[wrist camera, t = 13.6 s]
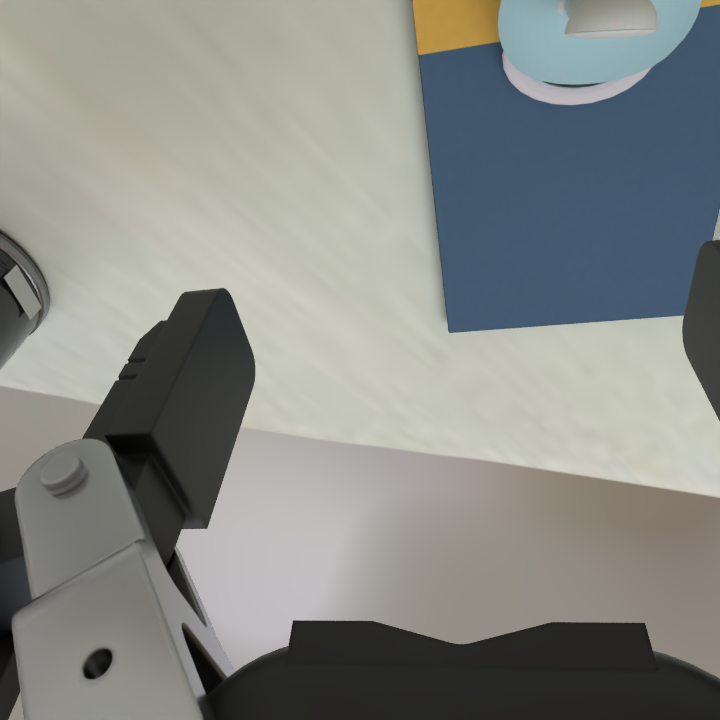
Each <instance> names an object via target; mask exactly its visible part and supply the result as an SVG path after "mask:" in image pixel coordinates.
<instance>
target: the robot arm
mask: <svg viewBox="0 0 720 720" xmlns="http://www.w3.org/2000/svg"><path fill="white" fill-rule="evenodd" d="M48 309H49V294H48V290H47V287H46V284H45V282H44V279H43V277H42V275H41V274H40V272H39V270H38V269H37V267H36V266H35V265H34V263H33V262H32V261H31V259H30V258H29V257H28V256H27V255H26V254H25V253H24V252H23V251H22V250H21V249H20V248H19V247H18V246H17V245H16V244H14V243H13V242H12V241H11V240H10V239H8V238H7V237H6V236H4V235H3V234H1V233H0V370H1V369H2V367H3V366H4V365H5V364H6V362H7V361H8V360H9V359H10V358H11V357H12V355H13V354H14V353H15V352H16V351H17V349H18V348H19V347H20V346H21V344H22V343H23V342H24V341H25V340H26V338H27V337H28V336H29V335H31V334H32V333H33V332H34V331H35V330H36V329H37V328H38V326H39V325H40V324H41V323H42V322H43V320H44V319H45V317H46V315H47V313H48ZM682 333H683V343H684V348H685V352H686V355H687V357H688V359H689V361H690V363H691V365H692V367H693V369H694V371H695V373H696V375H697V377H698V379H699V381H700V383H701V385H702V387H703V389H704V391H705V393H706V395H707V397H708V399H709V401H710V403H711V405H712V407H713V409H714V411H715V413H716V415H717V417H718V419H719V421H720V240H715V241H707V242H705V243H704V244H703V245H702V246H701V248H700V250H699V253H698V256H697V261H696V265H695V269H694V274H693V278H692V283H691V287H690V292H689V296H688V301H687V305H686V310H685V314H684V319H683V329H682ZM128 361H129V363H128V364H125V366H124V368H123V369H122V371H121V373H120V374H119V376H118V377H119V380H118V381H115V383H114V385H113V386H112V388H111V390H110V392H109V393H108V395H107V397H106V398H105V400H104V402H103V403H102V405H101V407H100V409H99V411H98V412H97V414H96V416H95V417H94V419H93V421H92V422H91V424H90V426H89V428H88V429H87V431H86V433H85V434H84V436H83V438H82V439H79V440H74V441H71V442H68V443H65V444H62V445H60V446H58V447H56V448H54V449H52V450H50V451H49V452H47V453H46V454H44V455H43V456H42V457H40V458H39V459H38V460H37V461H35V462H34V463H33V464H32V465H31V466H30V467H29V468H28V469H27V471H26V472H25V473H24V475H23V476H22V478H21V479H20V481H19V483H18V485H17V487H15V488H12V489H9V490H6V491H2V492H0V720H8V719H9V716H10V714H11V712H12V709H13V707H14V705H15V702H16V700H17V698H18V695H19V693H20V692H21V699H22V706H23V714H24V720H720V679H719V678H718V677H716V676H714V675H712V674H710V673H708V672H706V671H704V670H702V669H700V668H698V667H696V666H694V665H692V664H690V663H687V662H685V661H682V660H679V659H677V658H674V657H672V656H669V655H666V654H663V653H659V652H656V651H653V650H652V647H651V643H650V640H649V636H648V632H647V629H646V625H645V623H570V622H568V623H565V622H562V623H561V622H551V623H547V624H543V625H540V626H536V627H532V628H528V629H524V630H520V631H516V632H512V633H509V634H505V635H501V636H497V637H493V638H489V639H485V640H481V641H478V642H474V643H470V644H453V643H449V642H445V641H442V640H438V639H435V638H431V637H427V636H424V635H420V634H417V633H413V632H410V631H406V630H403V629H399V628H395V627H392V626H388V625H385V624H381V623H378V622H374V621H293V624H292V630H291V636H290V642H289V646H287V647H284V648H280V649H278V650H275V651H273V652H270V653H268V654H265V655H263V656H261V657H259V658H257V659H255V660H254V661H252V662H250V663H248V664H247V665H245V666H243V667H242V668H240V669H239V670H237V671H235V669H234V667H233V665H232V664H231V662H230V660H229V658H228V657H227V655H226V653H225V651H224V650H223V648H222V646H221V644H220V642H219V640H218V638H217V636H216V633H215V631H214V629H213V627H212V624H211V622H210V620H209V617H208V615H207V613H206V611H205V608H204V606H203V604H202V601H201V599H200V597H199V595H198V592H197V590H196V588H195V585H194V583H193V581H192V578H191V576H190V574H189V571H188V569H187V567H186V565H185V562H184V560H183V558H182V555H181V553H180V552H179V550H178V549H177V547H176V543H177V540H178V537H179V535H180V532H181V529H207V527H208V524H209V521H210V518H211V515H212V512H213V509H214V506H215V503H216V500H217V497H218V493H219V490H220V487H221V484H222V481H223V478H224V475H225V472H226V469H227V466H228V462H229V459H230V457H231V453H232V450H233V447H234V444H235V441H236V438H237V435H238V432H239V429H240V426H241V423H242V420H243V416H244V413H245V410H246V407H247V404H248V401H249V398H250V395H251V392H252V389H253V386H254V381H255V361H254V356H253V352H252V349H251V347H250V344H249V341H248V339H247V336H246V333H245V331H244V328H243V325H242V323H241V320H240V317H239V315H238V312H237V309H236V307H235V304H234V302H233V299H232V297H231V295H230V293H229V292H228V291H227V290H226V289H224V288H220V289H210V290H200V291H190V292H184V293H183V294H182V295H181V296H180V298H179V300H178V301H177V303H176V305H175V307H174V309H173V311H172V312H171V314H170V316H169V318H168V320H166V321H160V322H159V323H158V324H157V325H155V326H154V327H153V328H152V329H151V330H150V331H149V332H148V333H147V334H145V335H144V336H143V337H142V338H141V339H140V340H139V342H138V344H137V345H136V347H135V349H134V350H133V352H132V354H131V356H130V357H129V359H128Z"/></svg>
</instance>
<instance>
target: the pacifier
mask: <svg viewBox="0 0 720 720" xmlns="http://www.w3.org/2000/svg"><path fill="white" fill-rule="evenodd" d="M701 1H702V0H501V3H500V7H499V13H498V31H499V38H500V41H501V45H502V48H503V50H504V51H503V54H502V59H503V69H504V71H505V73H506V75H507V77H508V79H509V81H510V82H511V83H512V84H513V85H514V86H515V87H516V88H517V89H518V90H519V91H520V92H522V93H524V94H526V95H527V96H529V97H531V98H533V99H535V100H539V101H543V102H547V103H550V104H560V105H578V104H587V103H593V102H597V101H600V100H604V99H607V98H611V97H613V96H615V95H617V94H619V93H621V92H623V91H625V90H627V89H629V88H630V87H631V86H633V85H634V84H635V83H637V82H638V81H639V80H641V79H642V78H643V77H644V76H645V75H646V74H647V73H648V71H649V70H650V69H651V68H652V67H653V66H654V65H656V64H657V63H659V62H660V61H662V60H663V59H665V58H666V57H667V56H668V55H669V54H670V53H671V52H672V51H673V50H674V49H675V48H676V47H677V46H678V45H679V44H680V43H681V41H682V40H683V39H684V38H685V36H686V35H687V34H688V32H689V31H690V29H691V28H692V26H693V24H694V22H695V20H696V18H697V16H698V12H699V9H700V6H701Z"/></svg>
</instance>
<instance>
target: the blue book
mask: <svg viewBox="0 0 720 720" xmlns="http://www.w3.org/2000/svg"><path fill="white" fill-rule="evenodd" d="M412 2H413V12H414V21H415V30H416V39H417V48H418V55H419V64H420V73H421V83H422V92H423V101H424V110H425V119H426V129H427V138H428V147H429V156H430V166H431V175H432V184H433V193H434V202H435V212H436V221H437V230H438V239H439V249H440V258H441V267H442V276H443V285H444V295H445V304H446V313H447V322H448V331H449V333H454V332H467V331H480V330H494V329H507V328H521V327H534V326H548V325H561V324H574V323H588V322H601V321H615V320H628V319H641V318H655V317H668V316H682V315H684V314H685V310H686V305H687V301H688V296H689V292H690V287H691V283H692V278H693V274H694V269H695V265H696V261H697V256H698V253H699V250H700V248H701V246H702V245H703V244H704V243H705V242H707V241H712V239H713V235H714V230H715V226H716V222H717V217H718V213H719V209H720V0H702V1H701V6H700V9H699V12H698V16H697V18H696V20H695V22H694V24H693V26H692V28H691V29H690V31H689V32H688V34H687V35H686V36H685V38H684V39H683V40H682V41H681V43H680V44H679V45H678V46H677V47H676V48H675V49H674V50H673V51H672V52H671V53H670V54H669V55H668V56H667V57H666V58H665V59H663V60H662V61H660V62H659V63H657V64H656V65H654V66H653V67H652V68H651V69H650V70H649V71H648V73H647V74H646V75H645V76H644V77H643V78H642V79H641V80H639V81H638V82H637V83H635V84H634V85H633V86H631V87H630V88H629V89H627V90H625V91H623V92H621V93H619V94H617V95H615V96H613V97H611V98H607V99H604V100H600V101H597V102H593V103H587V104H578V105H560V104H550V103H547V102H543V101H539V100H535V99H533V98H531V97H529V96H527V95H526V94H524V93H522V92H520V91H519V90H518V89H517V88H516V87H515V86H514V85H513V84H512V83H511V82H510V81H509V79H508V77H507V75H506V73H505V71H504V69H503V59H502V54H503V51H504V50H503V48H502V45H501V41H500V38H499V31H498V13H499V7H500V3H501V0H412Z"/></svg>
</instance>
